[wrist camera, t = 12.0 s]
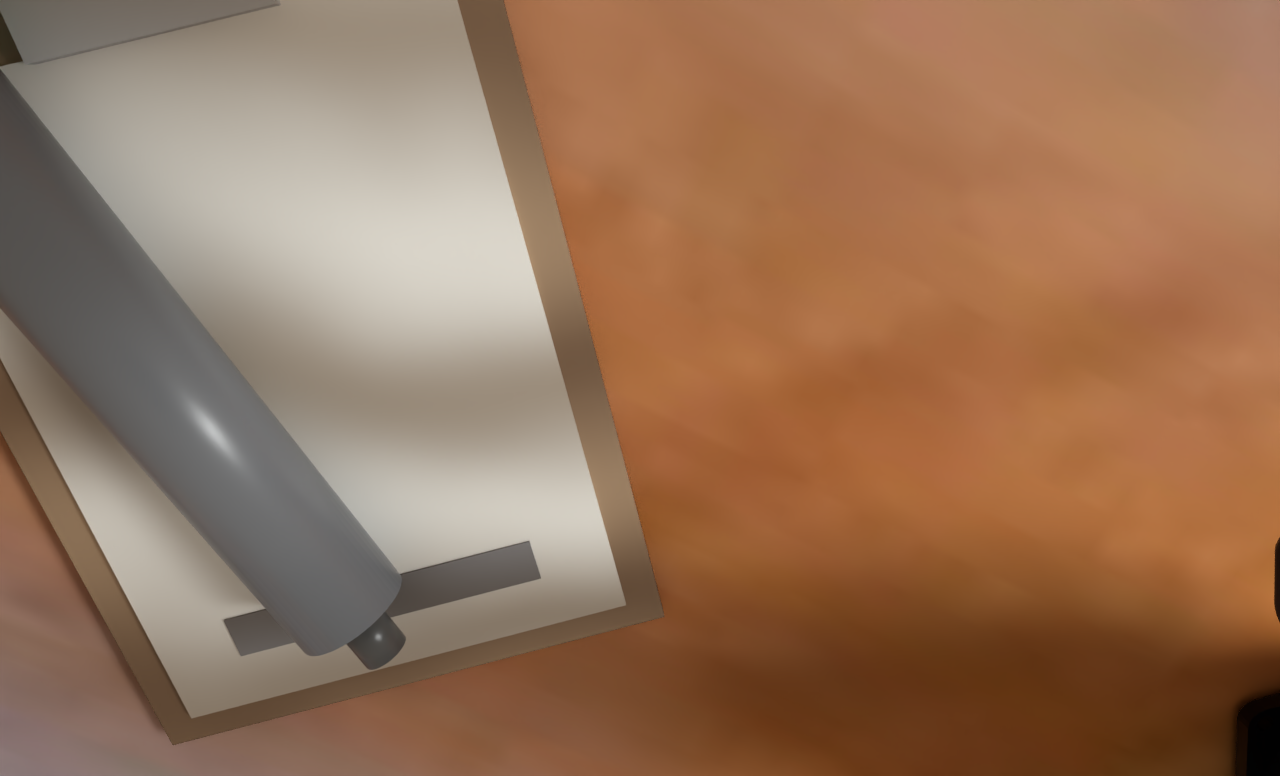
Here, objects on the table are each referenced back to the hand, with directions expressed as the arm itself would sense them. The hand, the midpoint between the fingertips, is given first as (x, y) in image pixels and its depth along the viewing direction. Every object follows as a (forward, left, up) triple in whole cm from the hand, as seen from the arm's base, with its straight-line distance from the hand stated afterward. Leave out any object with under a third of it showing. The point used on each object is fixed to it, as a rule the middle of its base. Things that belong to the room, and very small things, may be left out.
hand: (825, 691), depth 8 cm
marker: (+2, +9, -11) cm, 14 cm away
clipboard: (+1, +8, -11) cm, 14 cm away
